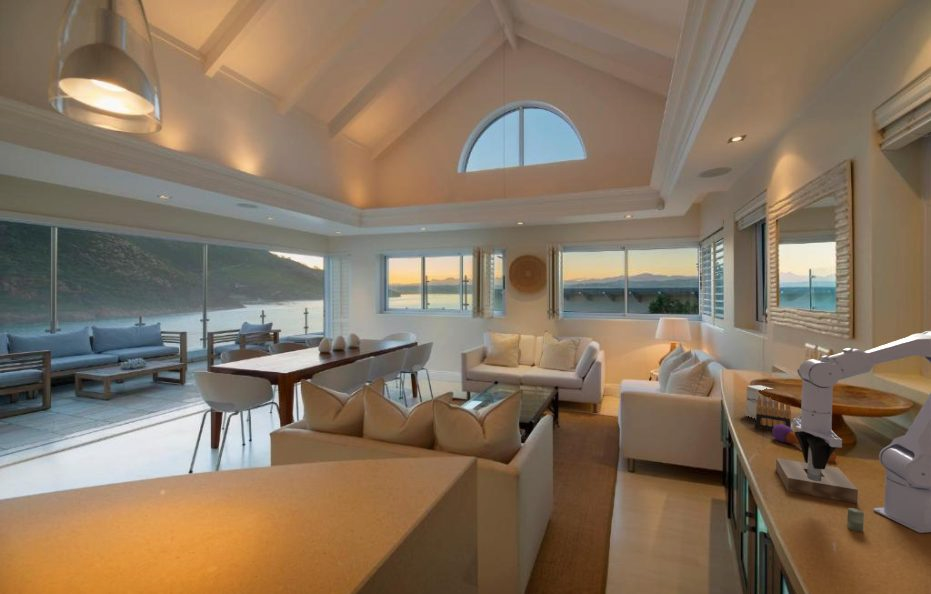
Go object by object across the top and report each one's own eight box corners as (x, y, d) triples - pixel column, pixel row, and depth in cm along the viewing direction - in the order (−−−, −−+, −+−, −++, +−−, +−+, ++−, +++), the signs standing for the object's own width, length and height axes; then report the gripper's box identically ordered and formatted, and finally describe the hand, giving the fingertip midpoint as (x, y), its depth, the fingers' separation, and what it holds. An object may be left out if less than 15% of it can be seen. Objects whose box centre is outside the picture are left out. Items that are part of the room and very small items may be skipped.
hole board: (837, 480, 117) (838, 467, 117) (857, 503, 105) (857, 489, 104) (775, 469, 123) (776, 458, 123) (787, 490, 111) (787, 477, 111)
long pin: (824, 480, 102) (825, 448, 101) (814, 481, 101) (815, 448, 101) (813, 475, 104) (814, 443, 104) (804, 476, 104) (805, 444, 104)
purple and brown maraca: (822, 450, 128) (767, 423, 148) (823, 468, 129) (768, 439, 149) (839, 446, 129) (782, 419, 149) (840, 464, 130) (783, 435, 150)
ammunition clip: (755, 427, 161) (756, 395, 160) (755, 425, 162) (756, 394, 162) (790, 433, 154) (791, 400, 154) (790, 431, 156) (791, 399, 155)
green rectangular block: (866, 531, 93) (867, 514, 93) (856, 532, 92) (856, 514, 92) (853, 525, 95) (854, 507, 95) (843, 525, 95) (844, 508, 95)
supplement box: (744, 416, 174) (745, 385, 173) (760, 415, 175) (761, 384, 175) (760, 421, 167) (761, 390, 166) (776, 420, 168) (777, 389, 168)
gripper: (780, 401, 110) (779, 452, 110) (818, 418, 96) (816, 477, 96) (810, 402, 109) (809, 454, 109) (853, 420, 95) (851, 480, 95)
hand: (814, 465), depth 103 cm, fingers closed on long pin, 3 cm apart
